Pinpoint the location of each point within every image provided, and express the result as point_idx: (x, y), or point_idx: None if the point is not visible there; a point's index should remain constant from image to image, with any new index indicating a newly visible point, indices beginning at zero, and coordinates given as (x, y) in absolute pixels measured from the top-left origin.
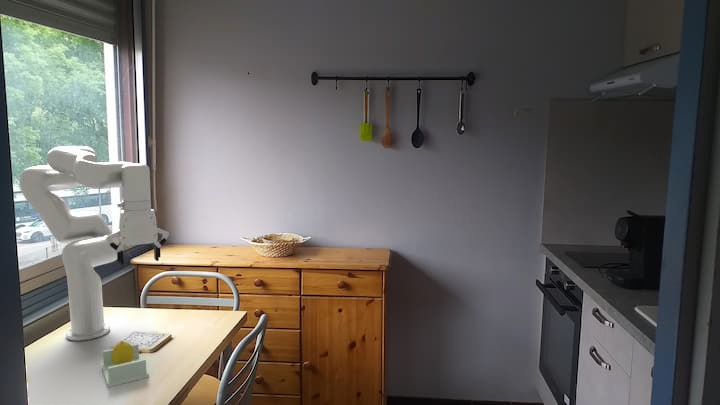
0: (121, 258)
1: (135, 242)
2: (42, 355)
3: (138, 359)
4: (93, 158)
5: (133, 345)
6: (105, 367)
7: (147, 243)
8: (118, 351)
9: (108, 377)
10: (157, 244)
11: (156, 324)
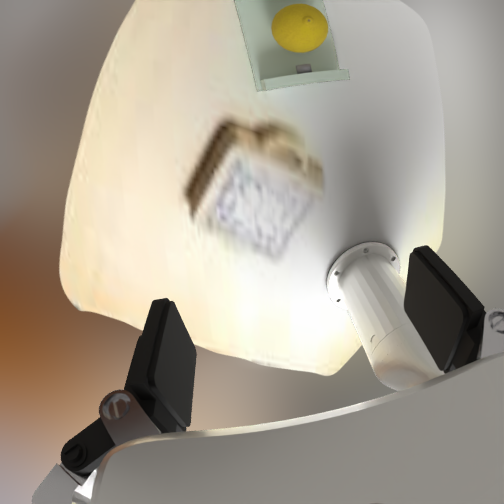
0: (448, 272)
1: (421, 412)
2: (433, 198)
3: (260, 72)
4: None
5: (276, 79)
6: (332, 60)
7: (229, 429)
8: (312, 6)
9: (320, 9)
10: (128, 423)
11: (231, 285)
